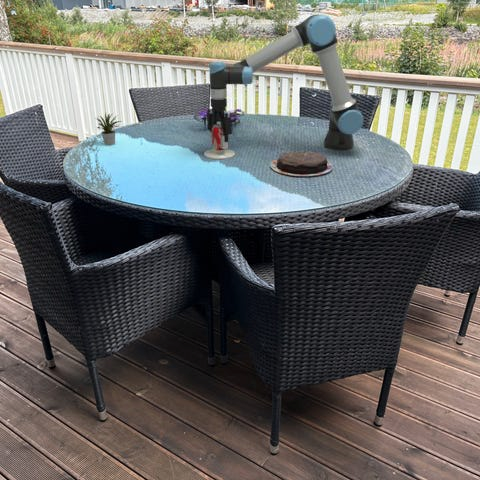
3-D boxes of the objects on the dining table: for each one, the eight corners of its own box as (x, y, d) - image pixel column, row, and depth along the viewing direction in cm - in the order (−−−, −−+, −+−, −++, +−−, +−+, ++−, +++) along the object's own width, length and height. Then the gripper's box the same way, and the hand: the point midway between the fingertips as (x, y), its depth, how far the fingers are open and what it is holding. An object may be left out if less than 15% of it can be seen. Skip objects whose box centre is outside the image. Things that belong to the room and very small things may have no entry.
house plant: (106, 150, 230) (101, 117, 223) (89, 145, 238) (84, 113, 230) (128, 143, 240) (124, 112, 233) (111, 139, 248) (107, 108, 240)
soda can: (216, 152, 218) (215, 127, 212) (210, 149, 224) (209, 124, 218) (229, 150, 221) (229, 125, 215) (223, 147, 226) (222, 122, 221)
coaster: (241, 154, 223) (241, 153, 223) (218, 161, 214) (218, 159, 214) (220, 148, 233) (220, 147, 232) (197, 154, 223) (197, 153, 223)
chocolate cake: (259, 163, 213) (260, 149, 210) (311, 156, 223) (312, 142, 220) (288, 182, 190) (289, 167, 187) (345, 173, 200) (346, 159, 197)
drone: (237, 121, 245) (186, 119, 248) (237, 139, 249) (187, 137, 253) (246, 106, 280) (201, 105, 283) (246, 122, 285) (201, 120, 288)
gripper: (198, 96, 215) (200, 144, 225) (227, 101, 202) (228, 152, 213) (210, 94, 220) (211, 141, 230) (239, 99, 207) (239, 149, 218)
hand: (219, 146), depth 222 cm, fingers closed on soda can, 7 cm apart
